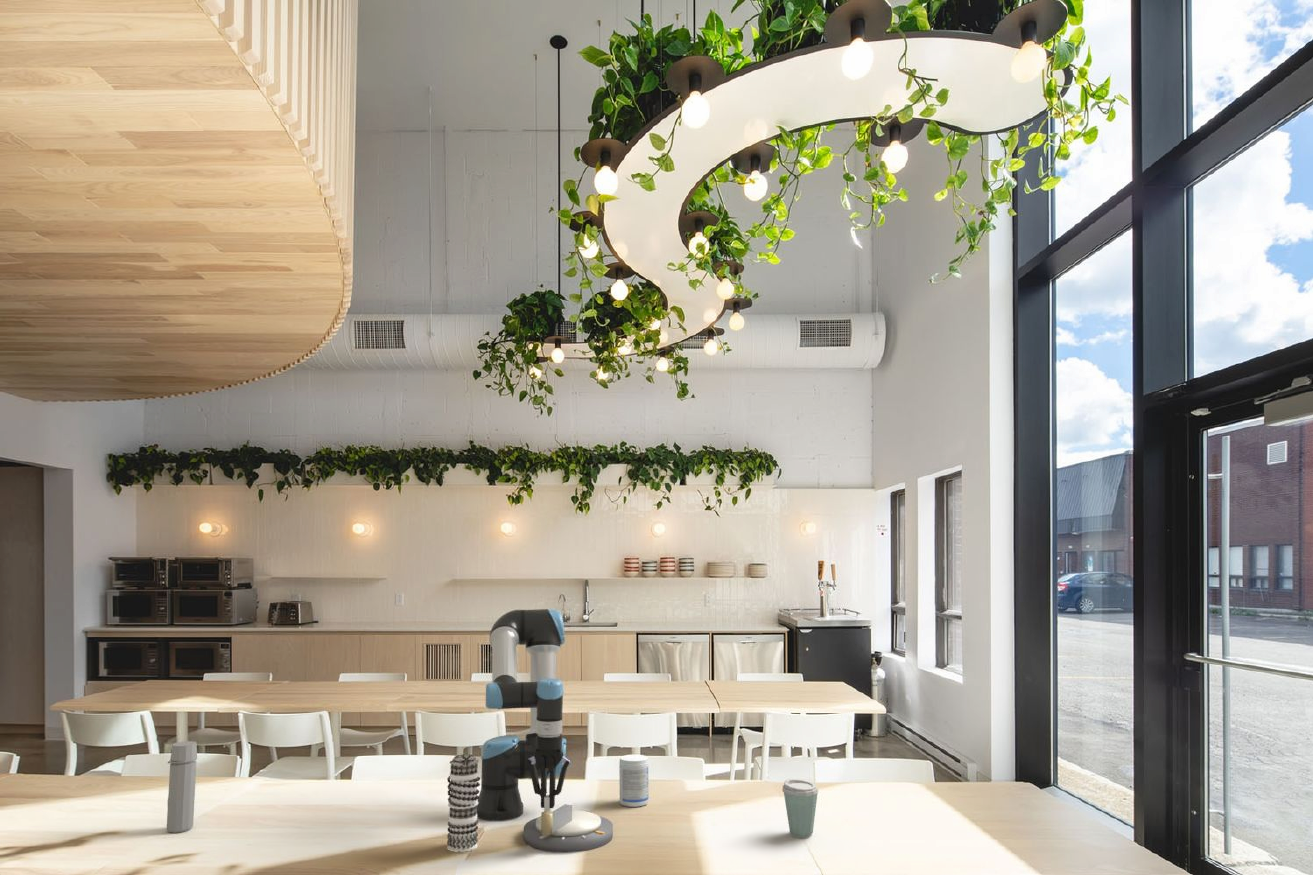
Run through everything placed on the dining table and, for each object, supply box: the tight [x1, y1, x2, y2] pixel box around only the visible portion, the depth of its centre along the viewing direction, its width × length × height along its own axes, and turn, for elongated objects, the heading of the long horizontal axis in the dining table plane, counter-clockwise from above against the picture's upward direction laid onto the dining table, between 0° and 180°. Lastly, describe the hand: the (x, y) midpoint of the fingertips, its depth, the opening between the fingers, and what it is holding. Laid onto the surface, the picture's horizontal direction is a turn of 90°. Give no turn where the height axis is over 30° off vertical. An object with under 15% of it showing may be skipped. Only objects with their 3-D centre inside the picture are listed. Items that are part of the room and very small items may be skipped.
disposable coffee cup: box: [782, 778, 819, 839], centre depth 271 cm, size 11×11×15 cm
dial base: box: [522, 815, 614, 853], centre depth 268 cm, size 26×26×3 cm
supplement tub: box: [618, 754, 650, 808], centre depth 302 cm, size 10×10×15 cm
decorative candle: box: [446, 753, 481, 853], centre depth 260 cm, size 9×9×25 cm
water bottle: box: [166, 740, 198, 834], centre depth 275 cm, size 9×8×25 cm
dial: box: [536, 803, 601, 836], centre depth 266 cm, size 24×19×7 cm
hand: (547, 819), depth 261 cm, fingers closed
